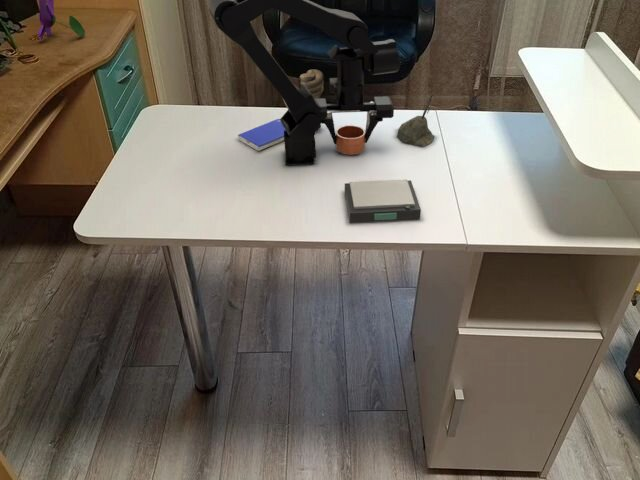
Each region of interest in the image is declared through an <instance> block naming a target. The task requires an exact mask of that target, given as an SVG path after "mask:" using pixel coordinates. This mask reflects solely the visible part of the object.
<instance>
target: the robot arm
mask: <svg viewBox="0 0 640 480" xmlns="http://www.w3.org/2000/svg"><path fill="white" fill-rule="evenodd" d="M208 4H209V5H208V11H209V14H210V16H211V17H212V20H213V21H214V23H215V25H216V27H217V28H218V29H219V30H220V32H222V33H223V34H225V35H226V36H227V38H229V39H230V40H231V41H232V42H234V43H235V44H236V45H238V46H239V47H240V48H242V49H243V50H244V51H245V53H246V54H247V55H248V57H249V58H250V59H251V60H252V62H253V63H254V64H255V66H256V67H257V68H258V69H259V71H260V72H261V74H263V76H264V77H265V78H266V79H267V81H268V82H269V83H270V85H272V88H273V89H274V90H275V91H276V92H277V93H278V95H279V96H280V97H281V98H282V101H283V102H284V105H285V107H286V108H287V111H285V112H284V114H283V115H282V116H281V117H280V118H279V119H280V121H281V123H282V125H283V127H284V128H285V131H284V140H283V142H284V143H283V144H284V165H285V166H302V165H303V166H304V165H314V164H315V159H316V158H317V149H316V146H317V145H316V137H315V136H316V134H317V133H316V132H317V131H318V130H317V128H318V127H319V126H320V124H321V125H322V124H324V125H325V127H326V129H327V130H328V133H329V134H330V137H331V139H332V142H333V144H334V145H336V129H335V124H334V123H335V122H334V117H333V114H337V113H366V123H365V129H364V130H365V133H366V135H365V144H367V143H368V142H369V140H370V138H371V136H372V133H373V131H374V129H375V128H376V126H377V125H378V124H379V122H383V121H384V119H392V118H394V117H395V115H394V114H395V113H394V112H395V108H394V103H393V101H392V98H391V97H390V96H388V95H385V96H384V95H383V96H373V98H372V101H369V102H364V101H365V71H367V72H369V74H370V75H371V76H377V75H386V74H393V73H398V71H400V67H401V59H400V54H399V50H398V48H397V45H398V44H397V41H395V40H394V39H393V38H389V39H386V40H380V41H372V40H371V38H370V37H369V28H368V25H367V24H366V23H365V22H364V21H362V20H361V19H360V18H359V17H358V16H357V15H355V14H354V13H353V12H350V11H345V10H341V9H338V8H337V9H336V8H329V7H325V6H323V5H320V4H319V3H315V2H314V1H311V0H210V1H209V3H208ZM271 9H274V10H276V11H278V12H281V13H283V14H285V15H287V16H290V17H292V18H294V19H297V20H299V21H302V22H303V23H306V24H308V25H311V26H313V27H315V28H318V29H320V30H321V31H324V32H325V33H326V34H328V35H329V36H331V38H333V39H334V40H336V41H337V42H339V43H340V44H341V45H343V46H345V47H342V48H341V47H339V46H338V45H337V44H334V45H333V47H332V48H331V49H329V50H328V52H327V53H326V54H327V56H328V57H329V58H330V59H331V60H332V61H333V62H335V61H337V62H336V64H337V66H336V67H337V77H329V78H328V85H329V87H328V89H329V93H330V94H331V93H332V94H334V93H335V94H336V101H337V103H327V99H326V98H324V97H323V98H322V97H320V99H315V98H314V97H313V96H312V95H311V93H310V92H309V91H308V89H307V88H306V87H305V85H303V86H302V85H301V86H300V87H298V86H296V84H294V83H293V81H292V80H291V79H290V77H289V76H288V75H287V74H286V72H285V71H284V70H283V69H282V66H280V64H279V63H278V62H277V60H276V59H275V58H274V56H273V55H272V53H270V51H269V50H268V48H267V47H266V46H265V45H264V43H263V42H262V40H261V39H260V38H259V36H258V35H257V33H256V31H255V29H254V26H253V25H252V23H251V22H253V21H254V20H256V19H257V18H259V16H261V15H263V14H264V13H265V12H267V11H268V10H271ZM316 130H317V131H316Z"/></svg>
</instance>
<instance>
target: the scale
mask: <svg viewBox="0 0 640 480" xmlns="http://www.w3.org/2000/svg"><path fill="white" fill-rule="evenodd" d="M344 198H345V203H346V210H347V215H348V222H349V224H363V223H381V222H382V223H384V222H401V221H419V220H421V212H422V210H421V207H420V202H419V200H418V197H417V194H416V191H415V188H414V186H413V182H412V180H411V179H410V180H408V179H405V178H404V179H385V180H384V179H383V180H361V181H359V180H358V181H349V182H346V183H344Z"/></svg>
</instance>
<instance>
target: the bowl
mask: <svg viewBox="0 0 640 480" xmlns="http://www.w3.org/2000/svg"><path fill="white" fill-rule="evenodd" d="M335 135H336V144H335V149H336V151H338V153H340V154H344V155H347V156H348V155H351V156H353V155H359V154H361V153H363V152H364V151H365V149H366V143H365V135H366V133H365V129H364V128H363V127H361V126H359V125H354V124H353V125H352V124H349V125H348V124H347V125H343V126H340V127H337V129H335Z"/></svg>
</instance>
